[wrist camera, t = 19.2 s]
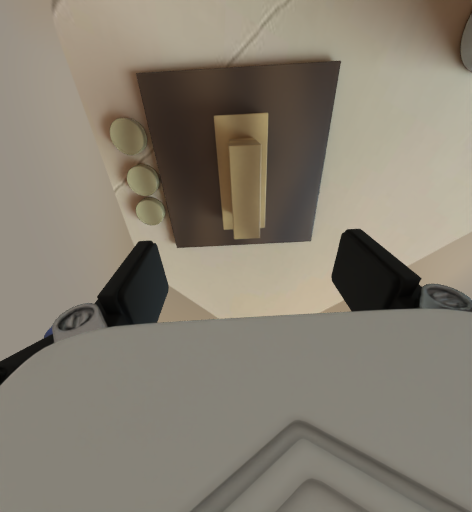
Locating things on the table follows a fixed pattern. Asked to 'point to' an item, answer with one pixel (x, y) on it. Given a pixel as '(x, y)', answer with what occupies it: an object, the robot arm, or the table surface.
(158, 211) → the token
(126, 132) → the token
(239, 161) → the brush
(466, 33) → the coffee cup
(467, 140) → the table surface
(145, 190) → the disc
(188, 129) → the tray
